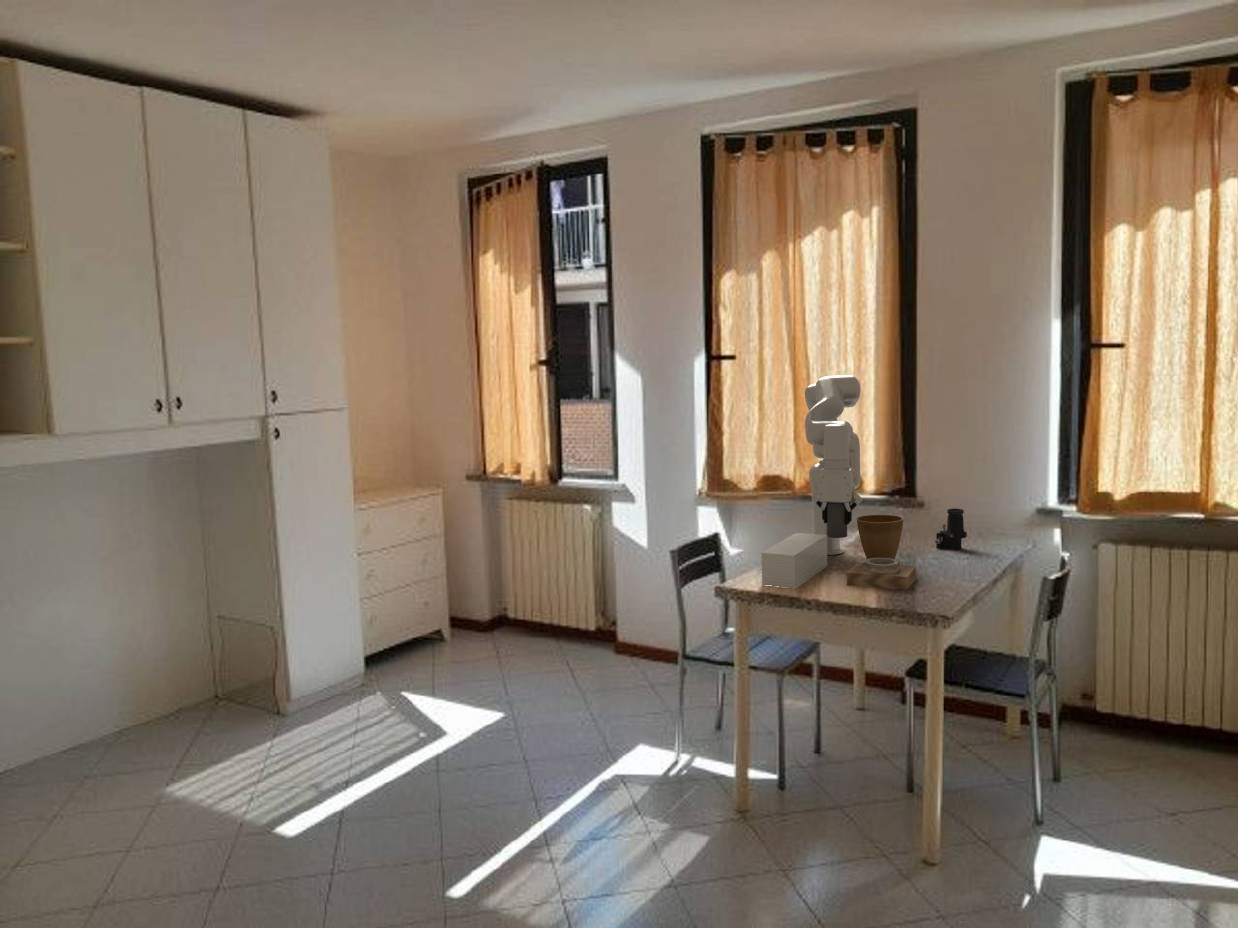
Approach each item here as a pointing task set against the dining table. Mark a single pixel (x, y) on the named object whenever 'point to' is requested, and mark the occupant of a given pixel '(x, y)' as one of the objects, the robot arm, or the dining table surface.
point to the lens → (836, 520)
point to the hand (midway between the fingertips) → (836, 522)
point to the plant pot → (880, 535)
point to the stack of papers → (794, 560)
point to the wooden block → (881, 574)
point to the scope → (952, 531)
